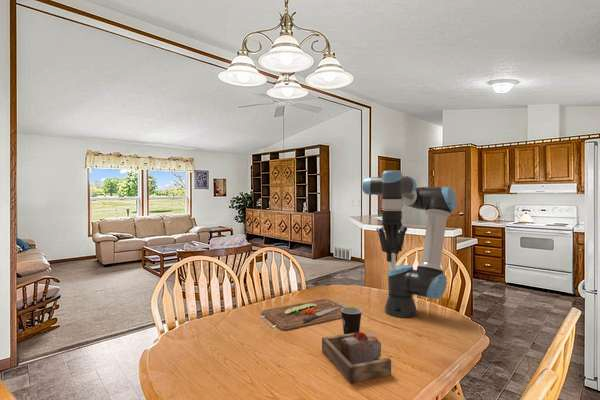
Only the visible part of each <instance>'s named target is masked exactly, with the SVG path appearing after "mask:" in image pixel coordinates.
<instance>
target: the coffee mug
mask: <svg viewBox="0 0 600 400" xmlns="http://www.w3.org/2000/svg"><path fill="white" fill-rule="evenodd" d="M362 311H363V310H362V308H359V307H354V306H347V307H345V308H342V309H341V314H342V319H341V321H342V329H343V335H344V334H350V333H357V332H358V333H359V332H360V328H361V320H362Z"/></svg>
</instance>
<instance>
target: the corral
mask: <svg viewBox="0 0 600 400" xmlns="http://www.w3.org/2000/svg"><path fill="white" fill-rule="evenodd" d="M354 334H355V333H350V334H344V333H343V334H339V335H331V336H326V337H322V338H321V351H322V352H323V354H324V355H325V356H326V358H327V359H328V360H329V361H330V362H331V363H332V364H333V365H334V366H335V368H336V369H337V371H339V372H340V373H341V375H342V374H343V375H342V376H343V377H344V378H345V379H346V380H347V381H348V383H349V384H355V383H356V384H357V383H359V382H363V381H368V380H375V379H377V378H378V379H379V378H384V377H389V376H392V359H391V358H390V357H385V358H379V359H377V360H372V361H369V362H364V363H359V364H354V365H352V364H351V363H350V362H349V361H348V360H347V359H346V358H345V357H344V356H343V355H342V354H341V342H342V339H343V338H349V337H354Z"/></svg>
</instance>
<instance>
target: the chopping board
mask: <svg viewBox="0 0 600 400" xmlns="http://www.w3.org/2000/svg"><path fill="white" fill-rule="evenodd" d="M327 301H328V302H327ZM329 302H330V303H329ZM331 303H332V304H331ZM333 304H334V305H333ZM345 307H348V306H346V305H345V304H343V303H341V302H338V301H336V300H335V301H334V300H331V299H329V298H327V299H326V298H321V299H317V300H312V301H311V300H310V301H306V302H301V303H295V304H291V305H290V304H289V305H284V306H279V307H273V308H268V309H264V310H262V311H261V315H259V318H260V319H261V320H262V321H263V322H264V323H266V324H267V325H268V326H269V327H270V328H271V329H275V328H277V329H278V330H280V331H283V332H287V331H292V330H297V329H301V328H306V327H311V326H314V325H319V324H325V323H328V321H329V322H332V321H337V319H338V320H342V314H341V309H342V308H345ZM267 320H268V321H269V322H270V323H269V322H268V321H267Z"/></svg>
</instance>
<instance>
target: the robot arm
mask: <svg viewBox="0 0 600 400" xmlns="http://www.w3.org/2000/svg"><path fill="white" fill-rule="evenodd" d="M381 175H382V176H381V177H380V176H377V177H366V178H364V179H363V181H362V186H361V187H362V192H363V193H364V194H365V195H370V196H372V195H375V196H379V197H382V198H381V201H382V202H381V204H382V205H381V209H382V211H381V218H382V223H381V226H380V227H376V233H378V236H379V237H378V238H379V242H380V247H381V251H382V252H383V253H386V262H387V263H388V264H387V265H388V267H387V268H388V275H387V279H388V291H387V292H388V295H387V298H386V303H385V306H384V313H386V314H387V315H389V316H392V317H396V318H413V317H415V316H416V315H417V314H418V313H417V312H418V311H417V307H416V304H415V301H414V297H413V296H414V295H415V296H419V297H424V298H427V299H434V300H437V299H440V298H441V297H443V295H444V294H445V291H446V288H447V285H448V284H447V283H448V281H447V280H448V279H447V275H446V274H444V269H443V268H442V267H441V265H442V258H443V256H442V255H443V249H444V242H445V241H444V240H445V233H446V226H447V219H448V217H451V216H452V212H454V211H456V209H457V196H456V192H455V190H454V189H453V188H452V187H449V186H420V187H417V182H416V180H415V179H414V177H411V176H407V175H406V176H403V172H402V171H401V170H395V169H394V170H384V171H383V172H382V173H381ZM403 206H405V207H406V206H407V207H410V208H414V209H417V210H422V211H425V213H426V215H427V221H426V229H425V234H424V240H423V241H424V243H423V246H422V247H423V249H422V254H421V256H422V257H421V262H420V263H419V264H418V265H417V267H416V269H414V266H413V265H410V264H398V265H397V264H396V262H397V261H398V254H399V252H402V250H403V245H404V241H405V235H406V233H407V230H408V227H407V226H404V225H403V222H402V219H403V212H402V210H403Z"/></svg>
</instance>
